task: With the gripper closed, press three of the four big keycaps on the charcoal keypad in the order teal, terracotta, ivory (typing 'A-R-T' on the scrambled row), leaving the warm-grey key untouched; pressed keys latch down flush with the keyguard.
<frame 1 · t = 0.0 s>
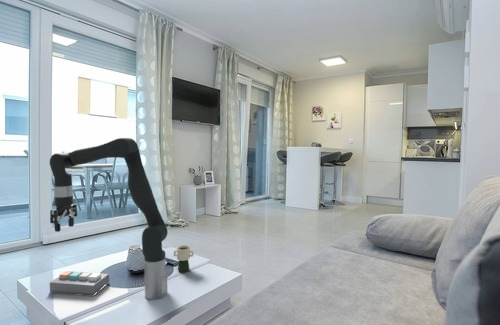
hand: (64, 228, 139), 29 cm above the table, fingers open, 8 cm apart
keypad board: (80, 288, 141), on the table
soda can: (135, 268, 164), on the table
character mug: (183, 270, 162), on the table
key R terracotta: (66, 277, 142), point 5 cm above the table, slide at 0.0 cm
key A teal: (75, 277, 141), point 5 cm above the table, slide at 0.0 cm
key O grey: (85, 278, 141), point 5 cm above the table, slide at 0.0 cm
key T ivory: (94, 279, 140), point 5 cm above the table, slide at 0.0 cm
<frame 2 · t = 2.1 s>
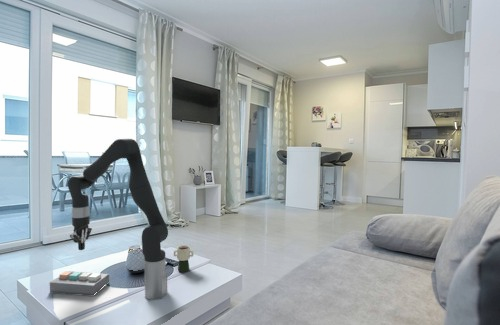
hand: (81, 249, 145), 17 cm above the table, fingers closed
nothing on the table moved.
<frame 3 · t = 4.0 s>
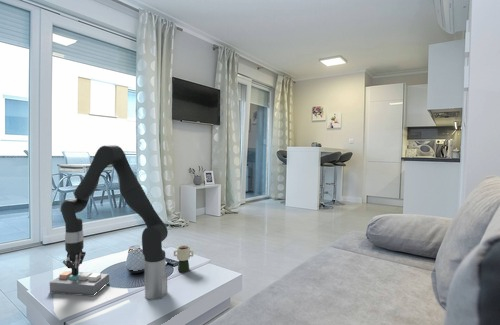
hand: (75, 274, 141), 6 cm above the table, fingers closed
key A teal: (75, 278, 141), point 4 cm above the table, slide at 0.5 cm, touching gripper
everything else where it was.
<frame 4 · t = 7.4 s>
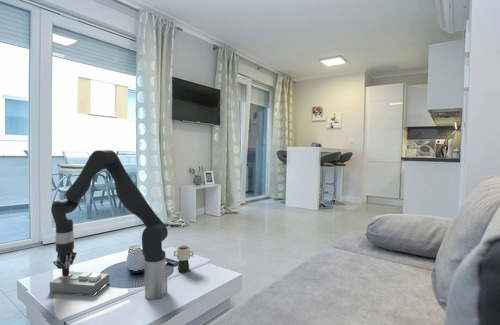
hand: (65, 275, 142), 6 cm above the table, fingers closed
key R terracotta: (66, 279, 142), point 4 cm above the table, slide at 1.1 cm, touching gripper
key A teal: (75, 280, 141), point 3 cm above the table, slide at 1.5 cm
everything else where it was.
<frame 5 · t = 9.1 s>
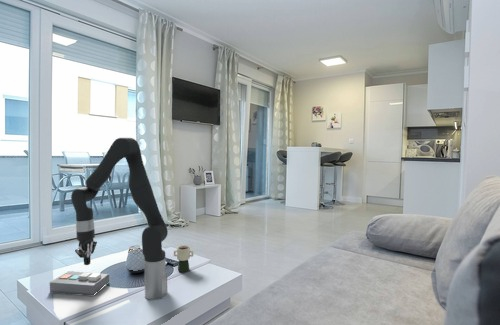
hand: (87, 264, 140), 12 cm above the table, fingers closed
key R terracotta: (66, 280, 142), point 3 cm above the table, slide at 1.5 cm
everything else where it was.
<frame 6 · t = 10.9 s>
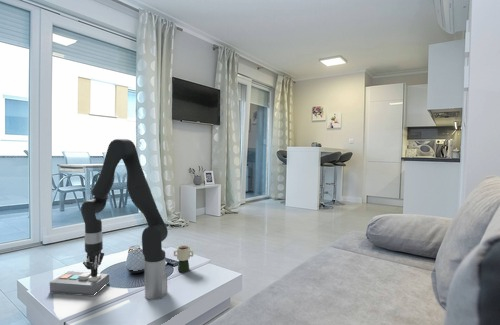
hand: (94, 276, 140), 6 cm above the table, fingers closed
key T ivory: (94, 280, 140), point 4 cm above the table, slide at 0.5 cm, touching gripper
everything else where it was.
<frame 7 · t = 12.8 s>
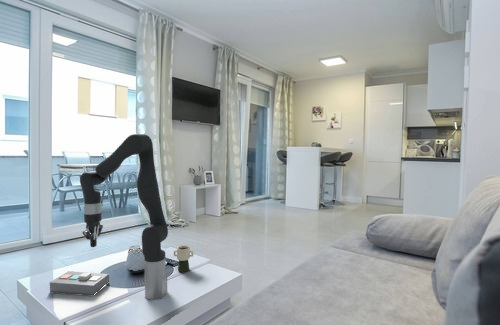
hand: (93, 246, 143), 19 cm above the table, fingers closed
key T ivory: (94, 282, 140), point 3 cm above the table, slide at 1.5 cm
everything else where it was.
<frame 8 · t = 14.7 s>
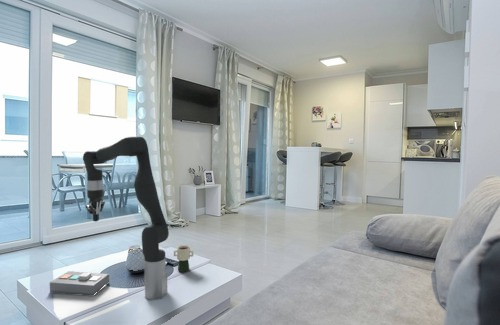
hand: (96, 221, 154), 29 cm above the table, fingers closed
nothing on the table moved.
at the end: key A teal slide at 1.5 cm; key R terracotta slide at 1.5 cm; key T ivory slide at 1.5 cm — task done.
